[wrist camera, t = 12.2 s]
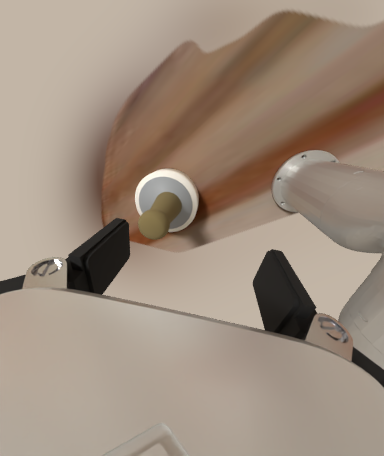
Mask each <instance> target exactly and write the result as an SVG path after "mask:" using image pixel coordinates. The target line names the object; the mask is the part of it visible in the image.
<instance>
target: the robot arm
mask: <svg viewBox="0 0 384 456" xmlns="http://www.w3.org/2000/svg"><path fill="white" fill-rule="evenodd" d="M302 155H303V157H302ZM301 157H302V158H301ZM277 178H279V179H278V180H277ZM272 195H273V198H274V200H275V202H276V203H277V204H278V205H279V206H280V207H281V208H283V209H284V210H287V211H290V212H299V213H300V214H302V215H303V216H304V217H305V218H306V219H308V220H309V221H310V222H311V223H312V224H314V225H315V226H316V227H317V228H318V229H320V230H321V231H322V232H323V233H324V234H326V235H327V236H328V237H329V238H331V239H332V240H333V241H334V242H336V243H337V244H339V245H341V246H343V247H345V248H347V249H351V250H354V251H359V252H366V253H382V256H381V258H380V260H379V261H378V263H377V264H376V265H375V267H374V268H373V269H372V271H371V273H370V275H369V276H368V277H367V278H366V279H365V281H364V282H363V283H362V284H361V285H360V287H359V288H358V289H357V290H356V292H355V293H354V294H353V295H352V297H351V298H350V299H349V301H348V302H347V303H346V305H345V306H344V308H343V309H342V311H341V313H340V316H339V321H337V320H336V319H334V318H332V317H331V316H329V315H326V314H322V313H319V314H317V312H316V310H315V308H316V306H315V305H314V303H313V301H312V300H311V298H310V297H309V295H308V293H307V291H306V290H305V288H304V287H303V285H302V283H301V282H300V280H299V278H298V277H297V275H296V274H295V272H294V270H293V269H292V267H291V265H290V264H289V262H288V260H287V259H286V257H285V256H284V254H283V252H281V251H278V250H273V249H272V250H270V251H268V252H267V253H266V255H265V257H264V259H263V261H262V263H261V265H260V267H259V270H258V272H257V274H256V276H255V278H254V280H253V287H254V290H255V294H256V298H257V302H258V305H259V309H260V313H261V317H262V321H263V324H264V328H265V330H261V329H257V328H252V327H248V326H243V325H239V324H235V323H230V322H225V321H221V320H217V319H212V318H207V317H203V316H199V315H194V314H190V313H185V312H180V311H176V310H171V309H167V308H162V307H157V306H153V305H148V304H143V303H138V302H134V301H129V300H125V299H120V298H115V297H110V296H106V295H102V294H103V293H104V291H105V290H106V289H107V287H108V286H109V285H110V283H111V282H112V281H113V279H114V278H115V277H116V275H117V274H118V272H119V271H120V270H121V268H122V267H123V266H124V264H125V263H126V262H127V260H128V259H129V256H130V244H129V243H130V242H129V224H128V222H126V220H124V219H119V218H116V219H114V220H113V221H112V222H110V223H109V224H108V225H107V226H105V227H104V228H103V229H101V230H100V231H99V232H97V233H96V234H95V235H94V236H92V237H91V238H90V239H89V240H87V241H86V242H85V243H83V244H82V245H81V246H79V247H78V248H77V249H75V250H74V251H73V252H72V253H70V254H69V257H68V258H67V259H63V258H59V257H53V258H47V259H43V260H41V261H38V262H36V263H35V264H33V265H32V266H31V267H30V268H29V269H28V270H27V273H26V275H23V276H19V277H16V278H12V279H8V280H4V281H0V456H384V171H381V170H376V169H370V168H364V167H358V166H352V165H347V164H341V163H339V161H338V159H337V158H336V157H335V156H334V155H332V154H330V153H329V152H325V151H320V150H309V151H305V152H301V153H299V154H296V155H295V156H293V157H291V158H290V159H288V160H287V161H286V162H285V163H284V164H283V165H282V166H281V167H280V168H279V170H278V171H277V173H276V174H275V177H274V179H273V183H272ZM281 202H282V203H281Z"/></svg>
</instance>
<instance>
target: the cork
mask: <svg viewBox="0 0 384 456" xmlns="http://www.w3.org/2000/svg"><path fill="white" fill-rule="evenodd" d="M181 209H182V203H181V201H180V199H179V198H178V196H177V195H175V194H174V193H171V192H163V193H160V194H159V195H158V196H157V198H156V199H155V201H154V203H153V205H152V207H151V208H150V210H147V211H145V212H144V213H143V214H142V215H141V216H140V218H139V221H138V226H139V230H140V231H141V233H142V234H143V235H144V236H145V237H147V238H149V239H160V238H162V237H164V236H165V235H166V234H167V233H168V231H169V228H170V223H171V222H172V221H173V220H174V219H175V218H176V217H177V216H178V215H179V213H180V212H181Z"/></svg>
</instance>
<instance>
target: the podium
mask: <svg viewBox="0 0 384 456" xmlns="http://www.w3.org/2000/svg"><path fill="white" fill-rule="evenodd" d="M163 192H171V193H174V194H175V195H177V196H178V198H179V199H180V201H181V203H182V209H181V212H180V213H179V215H178V216H177V217H176V218H175V219H174V220H173V221H172V222H171V223H170V228H169V231H168V232H176V231H179V230H182V229H184V228H186V227H187V226H188V225H189V224H190V223H191V222H192V221H193V219H194V217H195V215H196V212H197V208H198V204H199V194H198V190H197V187H196V185H195V183H194V182H193V181H192V179H191V178H190V177H189V176H188V175H186V174H185V173H183V172H182V171H179V170H177V169H172V168H164V169H160V170H157V171H155V172H153V173H151V174H149V175H147V176H146V177H144V178H143V179H142V180H141V182H140V183H139V185H138V187H137V189H136V193H135V203H136V207H137V210H138V212H139V214H140V216H141V215H142V214H143V213H144V212H145V211H147V210H150V208H151V207H152V205H153V203H154V201H155V199H156V198H157V196H158V195H159V194H160V193H163Z"/></svg>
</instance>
